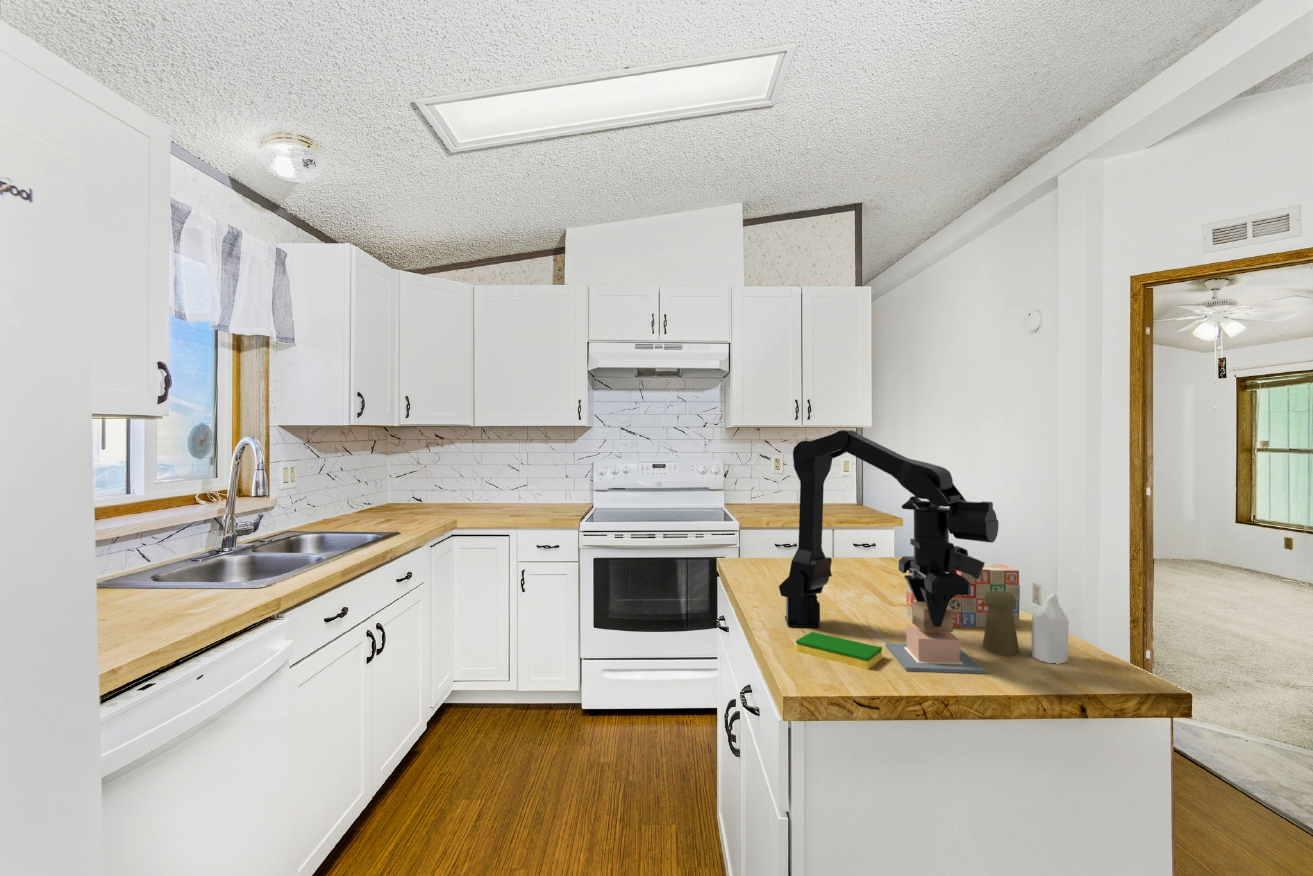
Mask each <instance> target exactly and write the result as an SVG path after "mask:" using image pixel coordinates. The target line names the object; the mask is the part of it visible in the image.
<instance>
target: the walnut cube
mask: <svg viewBox="0 0 1313 876" xmlns="http://www.w3.org/2000/svg"><path fill="white" fill-rule="evenodd" d="M912 615H913V621H912V624H913V625H915V627H918V628H919V629H921V630H922V631H923V632H950V633H954V628H953V627H954V626H953V610H952V609H951V608H949V607H948V606H947V609H946V612H945V615H944V618H943V621H942V624H941V626H940V627H935V626H934V625H933V622H932V620H931V617H930V614H929V611H928V608H927V605H926V603H925V602H915V601H912Z"/></svg>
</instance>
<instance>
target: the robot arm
mask: <svg viewBox="0 0 1313 876" xmlns="http://www.w3.org/2000/svg"><path fill="white" fill-rule="evenodd" d="M846 453H848V454H849V455H852V456H853V457H855V458H857V459H859V460H861V461H863V462H865V463H867V464H869V465H870V466H873V467H874V468H877V469H878V470H881V471H882V472H884V473H886V474H889V475H890V476H891V477H893V478H894V479H896V481H897V482H898V483H899V484H900V485H901V486H902V487H903V488H904V489H905V490H907V491H908V492H909V493H910V494H911V495H913V496H910V497H909V499H908V500H907V501H906V502H905V503H903V504H901V508H902V509H903V510H911V511H913V538H910V541H909V542H910V543H909V544H910V545H912V546H913V556H910V555H908V556H901V558H900V559H899V560H898V571H899V572H901V573H902V574H905V575H904V579H905V580H906V584H907V583H908V585H909V587H910V589H911V591H912V593H913V595H914V597H915V600H916V602H925V603H926V605H927V608H928V611H929V614H930V617H931V620H932V622H933V625H934V626H935V627H940V626H941V624H942V621H943V618H944V615H945V612H946V609H947V606H948V604H949V602H950V600H951V599H952V598H953V597H955V596H956V595H970V594H971V592H970V582H969V581H968V580H966V579H965V578H964V577H962V576H961V575H959V574H957V573H956V570H958V571H961V572H963V573H966V574H969V575H972V577H974V578H976V579H979V577H980V575H981V572H982V569H983V567H984V564H986V562H984V561H982V560H980V559H978V558H975V557H973V556H970V555H969V554H968V553H969V552H968V550H967V549H965V548H964V547H960V546H959V545H954V543H952V542H950V536H949V535H950V534H951V535H953V537H954V538H955V539H958V540H965V541H975V542H983V543H992V544H993V543H994V542H995V541H996V539H997V536H998V534H999V520H998V518H997V513H996V511H995V510H994V504H993V502H992V501H970V500H969V501H967V500H966V498H965V497H964V496H963V495H962V493H961V492H960V491H959V489H958V488H957V487H956V485H955V484H954V481H953V477H952V474H951V472H950V470H948V469H946V468H945V467H943V466H940V465H937V464H933V463H929V462H926V461H925V462H924V461H922V460H917V459H912V458H909V457H906V456H904V455H902V454H899V453H897V452H896V451H894V450H892V449H890V448H887V447H885V446H884V445H882V444H879V443H877V442H875V441H873V440H871V439H869V438H867V437H865V436H863V435H861V434H859V432H857V431H855V430H852V429H851V430H849V429H843V430H841V429H840V430H838V431H836V432H834V433H832V434H829V435H825V436H822V437H820V438H819V437H818V438H816V439H813V440H801V441H799V442H798V443H797V444H796V445H795V446H794V447H793V450H792V460H793V468H794V471H795V473H796V476H797V478H798V480H799V484H800V485H799V486H800V487H799V512H798V513H799V515H798V516H799V517H798V543H797V544H798V546H797V549H796V551H795V554H794V555H793V557H792V559H791V563H790V566H789V567H790V569H789V573H788V577H787V578H786V579H784V580H783V581H782V583H780V584H779V585H778V590H779V593H780V596H781V597H785V615H784V620H785V622H786V624H787V627H789V628H790V627H791V628H819V627H820V622H821V603H820V602H819V600H818V596H817V594H822V591H823V588H824V586H826V585H827V584H828V582H829V579H830V577H832V572H831V571H832V570H831V565H832V557H828V556H827V557H826V554H825V553H824V551H823V546H822V545H823V522H824V521H823V517H824V516H823V514H824V512H823V511H824V484H825V481H826V478H827V477H828V476H829V473H830V471H831V469H832V462H833V459H835V458H837V457H841V456H843V455H844V454H846ZM921 499H922V500H921ZM907 571H908V575H906V573H907ZM947 572H948V573H947Z"/></svg>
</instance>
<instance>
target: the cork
mask: <svg viewBox="0 0 1313 876" xmlns="http://www.w3.org/2000/svg"><path fill="white" fill-rule="evenodd" d="M984 598H985V604H986V606H987V607H988V611H987V618H986V626H984V634H983V641H982V649H983V650H984V651H986V652H987V653H988V652H989V653H991V654H994V655H998V656H1006V657H1009V656H1010V657H1012V656H1013V657H1014V656H1019V655H1020V647H1019V641H1018V634H1017V629H1016V628H1017V627H1015V621H1014V615H1013V610H1014V609H1015V608H1016V599H1015V597H1014V595H1013V594H1011V593H1009V592H1005V591H1000V590H992V591H988V592H987V593H986V594H985V597H984Z"/></svg>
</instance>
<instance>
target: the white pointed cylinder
mask: <svg viewBox="0 0 1313 876" xmlns="http://www.w3.org/2000/svg"><path fill="white" fill-rule="evenodd" d="M1069 623H1070V622H1069V618H1068V617H1067V615H1066V614H1065V612H1064V610H1063V608H1062V607H1061V606H1060V602H1059V599H1058V596H1057V595H1056V593H1055V592H1052V593H1051V594H1050V595H1049V596H1048V597H1047V598H1046V600H1045V601H1044V602H1043V603H1042V604H1041V606H1040V607H1039V608H1038V609H1037V610H1036V612H1035V613H1033V615H1032V617H1031V657H1032V658H1034V659H1036V660H1038V661H1040V662H1043V661H1044V662H1043V663H1046V662H1047V664H1051V663H1056V664H1055V665H1058V664H1057V663H1064V664H1066V663H1067V662H1068V661H1069V660H1068V659H1069V658H1068V656H1069V640H1070V639H1069V638H1070V637H1069V636H1070V635H1069V629H1070V628H1069V626H1070V625H1069ZM1065 662H1066V663H1065Z"/></svg>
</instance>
